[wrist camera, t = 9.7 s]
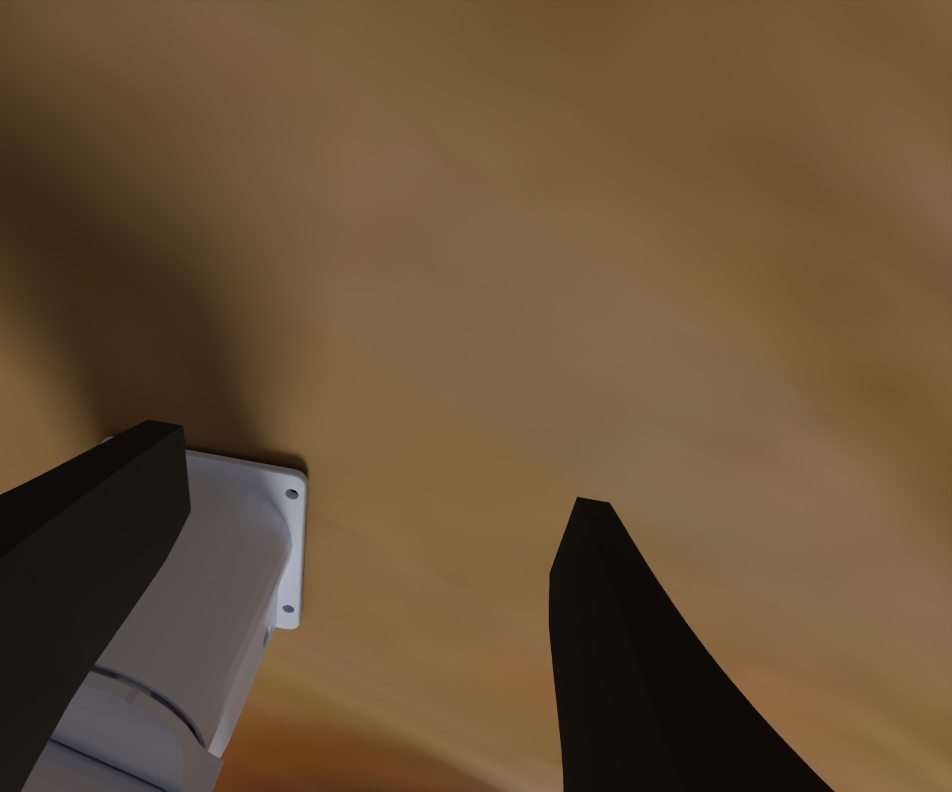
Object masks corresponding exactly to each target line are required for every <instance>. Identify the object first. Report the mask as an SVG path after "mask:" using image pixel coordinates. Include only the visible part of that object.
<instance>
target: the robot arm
mask: <svg viewBox="0 0 952 792" xmlns="http://www.w3.org/2000/svg"><path fill="white" fill-rule="evenodd" d="M307 483H308V481H307V477H306V476H305V474H304V473H302V472H301V471H299V470H296V469H291V468H285V467H280V466H274V465H269V464H263V463H258V462H252V461H247V460H241V459H236V458H230V457H225V456H219V455H213V454H208V453H202V452H197V451H191V450H186V449H185V441H184V431H183V426H181V425H176V424H170V423H165V422H159V421H153V420H147V421H145V422H143V423H141V424H138V425H136V426H134V427H132V428H130V429H128V430H126V431H124V432H122V433H121V434H119V435H117V436H115V437H111V436H110V437H107V438H105V439H104V440H103V441H102V442H101V443H100V445H98V446H96V447H94V448H92V449H90V450H88V451H86V452H84V453H83V454H81V455H79V456H77V457H75V458H73V459H71V460H69V461H67V462H65V463H63V464H61V465H59V466H57V467H55V468H54V469H52V470H50V471H48V472H46V473H44V474H42V475H40V476H38V477H36V478H34V479H32V480H30V481H28V482H26V483H24V484H22V485H20V486H18V487H16V488H14V489H12V490H9V491H7V492H5V493H3V494H1V495H0V792H212V790H213V788H214V785H215V783H216V780H217V778H218V775H219V773H220V770H221V768H222V765H223V761H222V760H221V759H220V757H221V755H222V754H223V752H224V750H225V748H226V746H227V744H228V742H229V740H230V738H231V736H232V733H233V731H234V728H235V726H236V723H237V721H238V718H239V716H240V713H241V711H242V708H243V706H244V703H245V701H246V699H247V696H248V694H249V691H250V689H251V686H252V684H253V681H254V679H255V676H256V674H257V671H258V669H259V667H260V664H261V662H262V659H263V657H264V654H265V652H266V649H267V647H268V644H269V642H270V639H271V637H272V635H273V632H274V630H275V627H278V628H284V629H294V628H296V627H298V625H299V622H300V620H301V607H302V587H303V566H304V545H305V525H306V504H307ZM289 489H293V490H295V491H296V492H298V493H294V492H292V491H291V490H289ZM549 633H550V643H551V653H552V663H553V673H554V683H555V692H556V702H557V711H558V721H559V730H560V740H561V749H562V765H563V785H564V792H834V791H833V790H832V789H831V788H830V787H829V786H828V785H827V784H826V783H825V782H824V781H823V780H822V779H821V778H820V777H819V776H818V775H817V774H816V773H815V772H814V771H813V770H812V769H811V768H810V767H809V766H808V765H807V764H806V763H805V762H804V761H803V760H802V759H801V757H800V756H799V755H798V754H797V753H796V752H795V751H794V750H793V749H792V748H791V747H790V746H789V745H788V744H787V743H786V742H785V741H784V740H783V739H782V738H781V737H780V736H779V735H778V733H777V732H776V731H775V730H774V729H773V728H772V727H771V726H770V725H769V724H768V723H767V721H766V720H765V719H764V718H763V717H762V716H761V715H760V714H759V713H758V711H757V710H756V709H755V708H754V707H753V706H752V704H751V703H750V702H749V701H748V700H747V699H746V697H745V696H744V695H743V694H742V693H741V692H740V690H739V689H738V688H737V687H736V686H735V684H734V683H733V682H732V681H731V680H730V679H729V677H728V676H727V675H726V674H725V673H724V671H723V670H722V669H721V668H720V666H719V665H718V664H717V663H716V661H715V660H714V659H713V658H712V656H711V655H710V654H709V652H708V651H707V650H706V648H705V647H704V646H703V644H702V643H701V642H700V640H699V639H698V638H697V636H696V635H695V634H694V632H693V631H692V630H691V628H690V627H689V626H688V624H687V623H686V621H685V620H684V619H683V617H682V616H681V614H680V613H679V611H678V610H677V609H676V607H675V606H674V604H673V603H672V601H671V600H670V598H669V597H668V595H667V594H666V592H665V591H664V589H663V588H662V586H661V585H660V583H659V582H658V580H657V579H656V577H655V575H654V574H653V572H652V571H651V569H650V568H649V566H648V564H647V563H646V561H645V560H644V558H643V556H642V555H641V553H640V552H639V550H638V548H637V547H636V545H635V543H634V542H633V540H632V538H631V537H630V535H629V533H628V532H627V530H626V529H625V527H624V525H623V524H622V522H621V520H620V519H619V517H618V515H617V514H616V512H615V510H614V509H613V507H612V506H611V504H610V503H609V502H603V501H597V500H592V499H586V498H581V497H577V499H576V502H575V504H574V507H573V510H572V513H571V516H570V518H569V521H568V524H567V527H566V529H565V532H564V535H563V538H562V540H561V543H560V546H559V549H558V552H557V554H556V557H555V560H554V563H553V565H552V568H551V571H550V582H549Z"/></svg>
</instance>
